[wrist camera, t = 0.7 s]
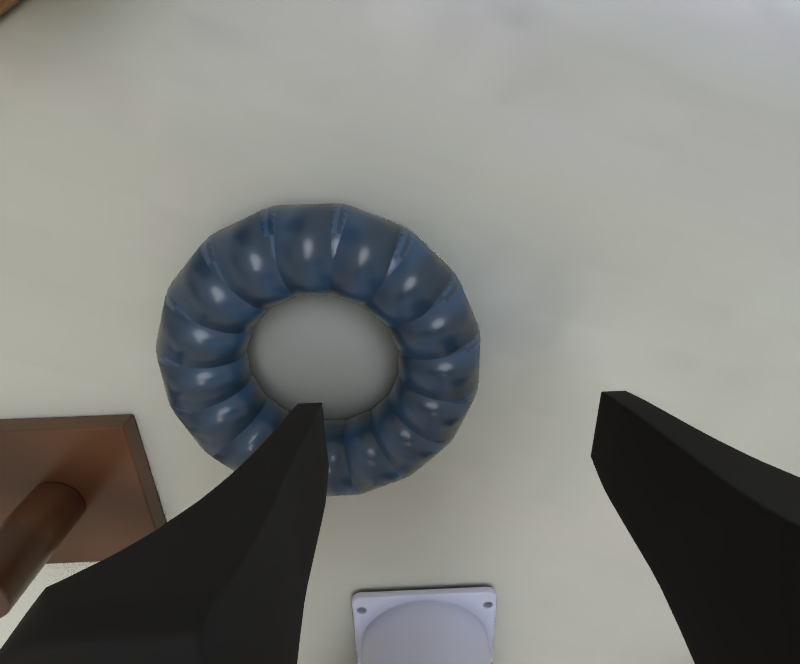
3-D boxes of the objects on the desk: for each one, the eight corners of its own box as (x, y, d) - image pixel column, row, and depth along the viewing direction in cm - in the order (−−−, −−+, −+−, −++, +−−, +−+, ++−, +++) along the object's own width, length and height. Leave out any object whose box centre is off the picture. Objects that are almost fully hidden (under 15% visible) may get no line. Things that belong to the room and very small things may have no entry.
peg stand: (173, 543, 25) (113, 663, 19) (17, 549, 25) (-87, 672, 19) (133, 413, 22) (48, 514, 16) (-46, 420, 22) (-193, 524, 16)
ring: (467, 457, 23) (479, 506, 20) (209, 467, 23) (184, 518, 20) (477, 192, 18) (495, 206, 15) (145, 203, 18) (99, 220, 15)
